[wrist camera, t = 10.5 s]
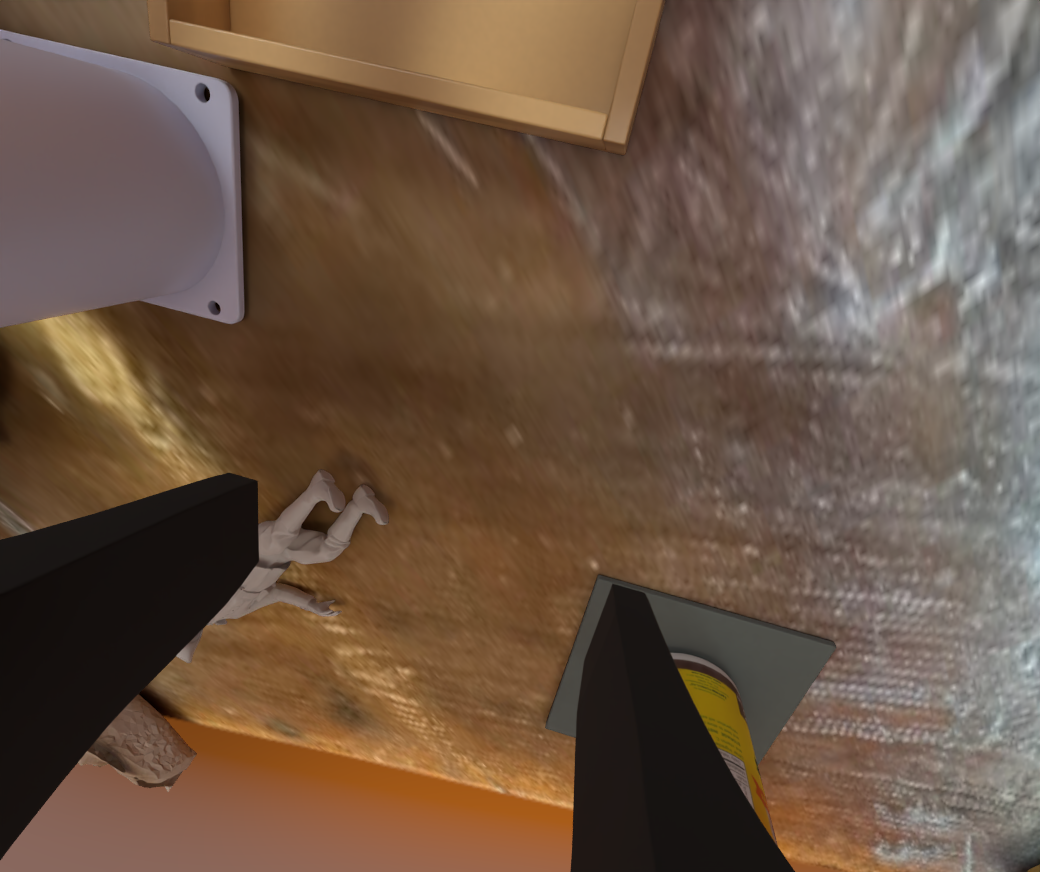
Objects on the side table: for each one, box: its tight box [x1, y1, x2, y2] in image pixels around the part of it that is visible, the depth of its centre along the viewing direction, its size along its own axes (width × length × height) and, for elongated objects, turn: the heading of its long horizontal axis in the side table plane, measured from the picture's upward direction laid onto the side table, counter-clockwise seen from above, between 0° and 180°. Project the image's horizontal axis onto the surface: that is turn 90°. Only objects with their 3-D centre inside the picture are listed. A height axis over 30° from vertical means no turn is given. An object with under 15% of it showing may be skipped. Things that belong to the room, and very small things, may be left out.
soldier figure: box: [176, 469, 389, 663], centre depth 23 cm, size 8×5×12 cm
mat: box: [545, 575, 836, 765], centre depth 24 cm, size 10×10×1 cm
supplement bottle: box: [671, 653, 778, 846], centre depth 19 cm, size 6×6×10 cm
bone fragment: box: [78, 694, 197, 791], centre depth 30 cm, size 14×6×5 cm, turn 54°
